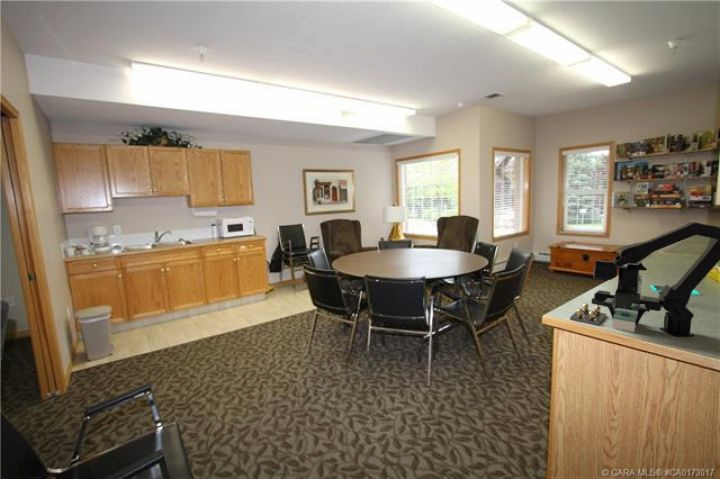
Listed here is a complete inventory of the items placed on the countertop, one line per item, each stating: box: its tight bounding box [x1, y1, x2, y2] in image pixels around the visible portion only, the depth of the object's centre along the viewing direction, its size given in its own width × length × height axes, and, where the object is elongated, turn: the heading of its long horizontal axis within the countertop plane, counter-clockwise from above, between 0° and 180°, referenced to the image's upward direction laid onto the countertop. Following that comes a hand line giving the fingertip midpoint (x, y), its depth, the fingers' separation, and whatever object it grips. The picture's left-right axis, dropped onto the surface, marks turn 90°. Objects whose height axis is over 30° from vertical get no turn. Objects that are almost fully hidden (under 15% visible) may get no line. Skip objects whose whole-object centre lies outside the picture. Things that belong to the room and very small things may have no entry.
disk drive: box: [591, 297, 640, 311], centre depth 143 cm, size 10×3×15 cm
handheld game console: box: [650, 284, 701, 296], centre depth 160 cm, size 10×16×1 cm, turn 58°
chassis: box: [569, 303, 607, 326], centre depth 130 cm, size 13×9×4 cm
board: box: [612, 308, 638, 333], centre depth 121 cm, size 11×6×5 cm, turn 137°
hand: (625, 322), depth 122 cm, fingers closed on board, 6 cm apart
